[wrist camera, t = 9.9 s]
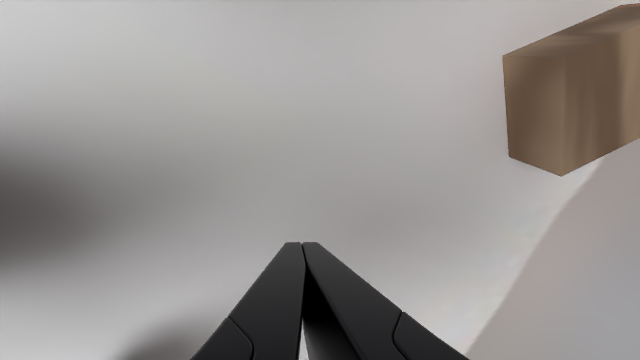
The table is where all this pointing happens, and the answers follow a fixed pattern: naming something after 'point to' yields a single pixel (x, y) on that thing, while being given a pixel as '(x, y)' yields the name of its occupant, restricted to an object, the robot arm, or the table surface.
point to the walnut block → (575, 92)
